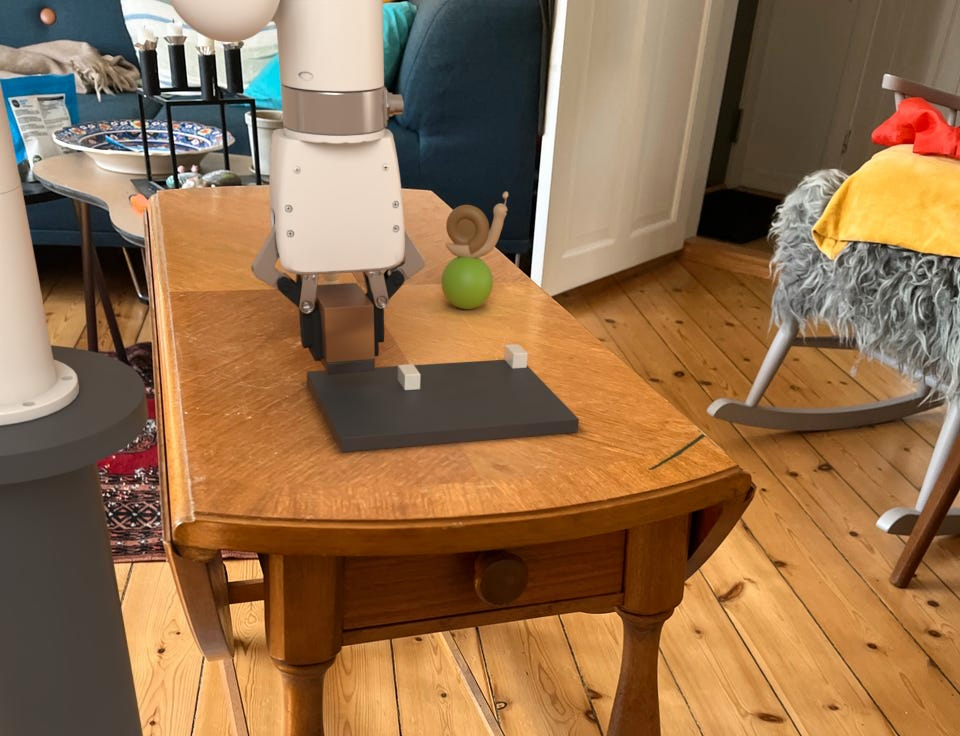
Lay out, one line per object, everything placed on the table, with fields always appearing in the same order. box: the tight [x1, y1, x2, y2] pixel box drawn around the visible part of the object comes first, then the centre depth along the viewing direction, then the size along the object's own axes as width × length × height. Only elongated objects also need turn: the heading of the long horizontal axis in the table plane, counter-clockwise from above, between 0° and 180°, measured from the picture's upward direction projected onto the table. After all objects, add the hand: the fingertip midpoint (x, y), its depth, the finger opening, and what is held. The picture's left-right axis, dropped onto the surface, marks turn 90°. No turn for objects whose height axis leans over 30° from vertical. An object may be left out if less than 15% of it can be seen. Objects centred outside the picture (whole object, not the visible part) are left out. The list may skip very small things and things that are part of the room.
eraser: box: [315, 282, 376, 375], centre depth 86 cm, size 4×6×6 cm, turn 19°
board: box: [306, 359, 580, 453], centre depth 88 cm, size 20×14×1 cm
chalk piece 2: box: [503, 343, 529, 369], centre depth 94 cm, size 1×2×1 cm, turn 18°
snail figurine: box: [441, 191, 509, 310], centre depth 107 cm, size 5×6×12 cm
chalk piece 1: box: [397, 363, 421, 390], centre depth 89 cm, size 1×2×1 cm, turn 18°
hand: (343, 350), depth 87 cm, fingers closed on eraser, 4 cm apart
